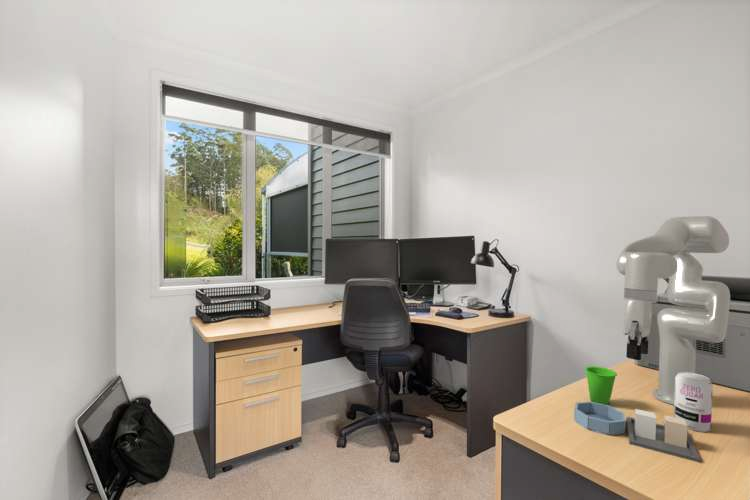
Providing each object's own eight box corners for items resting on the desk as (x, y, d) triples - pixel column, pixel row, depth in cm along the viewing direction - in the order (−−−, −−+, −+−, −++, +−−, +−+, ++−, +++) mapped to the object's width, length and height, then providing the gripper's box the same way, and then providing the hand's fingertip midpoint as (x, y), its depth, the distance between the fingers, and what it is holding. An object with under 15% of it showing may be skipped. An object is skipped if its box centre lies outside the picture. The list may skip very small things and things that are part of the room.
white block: (634, 429, 101) (635, 408, 101) (653, 434, 99) (654, 413, 99) (635, 435, 98) (636, 413, 98) (655, 440, 96) (656, 418, 96)
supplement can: (701, 422, 107) (703, 373, 107) (717, 436, 99) (719, 383, 99) (668, 417, 110) (670, 369, 109) (681, 430, 102) (683, 379, 102)
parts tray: (626, 420, 107) (626, 416, 107) (687, 434, 100) (687, 430, 100) (629, 445, 94) (629, 440, 94) (699, 464, 86) (700, 459, 86)
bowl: (576, 410, 113) (576, 398, 113) (623, 422, 106) (623, 408, 106) (573, 427, 103) (573, 413, 103) (625, 441, 96) (625, 426, 96)
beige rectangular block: (663, 436, 98) (663, 415, 98) (684, 441, 95) (684, 419, 95) (664, 442, 95) (665, 420, 95) (686, 448, 92) (687, 425, 92)
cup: (621, 411, 113) (622, 377, 113) (590, 408, 115) (591, 374, 115) (608, 399, 122) (609, 367, 122) (579, 396, 124) (580, 365, 124)
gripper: (630, 292, 109) (628, 348, 109) (616, 295, 97) (613, 357, 97) (661, 295, 104) (659, 354, 104) (651, 299, 92) (648, 365, 92)
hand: (637, 355), depth 100 cm, fingers open, 9 cm apart
